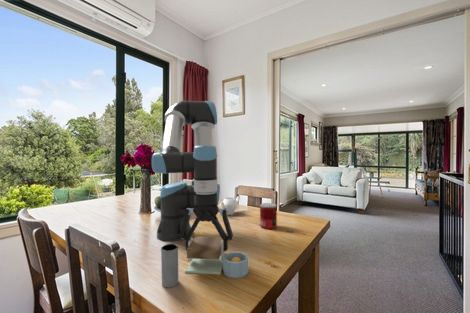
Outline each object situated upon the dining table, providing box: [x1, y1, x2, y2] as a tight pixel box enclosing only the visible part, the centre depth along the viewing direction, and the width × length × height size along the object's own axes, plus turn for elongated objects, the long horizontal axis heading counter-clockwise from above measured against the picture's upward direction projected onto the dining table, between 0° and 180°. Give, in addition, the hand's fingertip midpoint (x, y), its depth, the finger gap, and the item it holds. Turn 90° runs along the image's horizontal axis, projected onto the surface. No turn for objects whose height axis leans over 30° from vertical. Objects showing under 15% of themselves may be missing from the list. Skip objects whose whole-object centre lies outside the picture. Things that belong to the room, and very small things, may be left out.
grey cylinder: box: [160, 243, 180, 288], centre depth 62 cm, size 4×4×10 cm
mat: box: [184, 255, 223, 275], centre depth 72 cm, size 11×11×1 cm
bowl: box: [222, 251, 249, 279], centre depth 68 cm, size 8×8×4 cm
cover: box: [186, 236, 222, 259], centre depth 72 cm, size 10×10×3 cm
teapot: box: [218, 195, 241, 216], centre depth 133 cm, size 10×20×9 cm, turn 144°
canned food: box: [259, 202, 278, 230], centre depth 108 cm, size 8×8×11 cm
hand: (206, 259), depth 72 cm, fingers closed on cover, 10 cm apart
